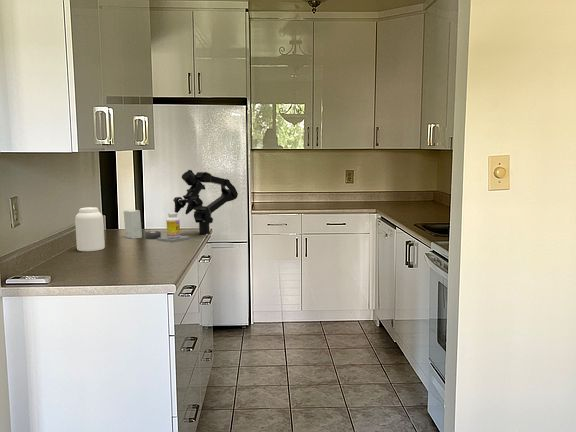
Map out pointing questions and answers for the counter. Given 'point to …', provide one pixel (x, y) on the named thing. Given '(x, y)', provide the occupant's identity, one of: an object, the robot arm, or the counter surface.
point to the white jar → (89, 230)
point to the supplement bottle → (173, 225)
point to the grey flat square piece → (173, 239)
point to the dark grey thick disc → (152, 235)
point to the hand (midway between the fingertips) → (180, 214)
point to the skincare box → (132, 224)
